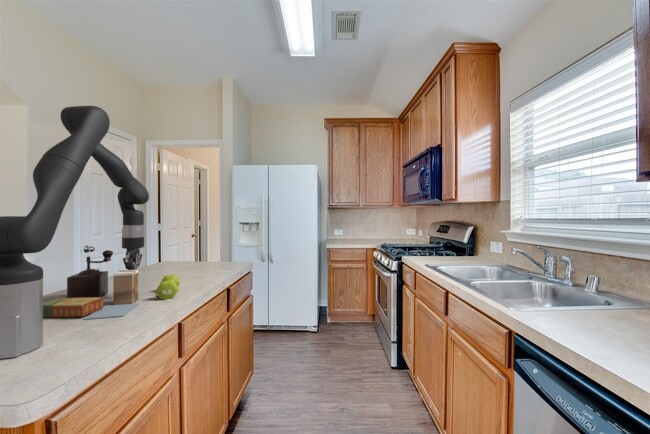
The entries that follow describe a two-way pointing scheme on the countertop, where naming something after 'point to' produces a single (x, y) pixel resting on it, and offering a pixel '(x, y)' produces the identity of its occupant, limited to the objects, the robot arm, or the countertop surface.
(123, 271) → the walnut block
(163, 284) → the dumbbell
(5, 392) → the countertop surface
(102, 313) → the mat
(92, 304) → the carton
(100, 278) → the manual coffee grinder
